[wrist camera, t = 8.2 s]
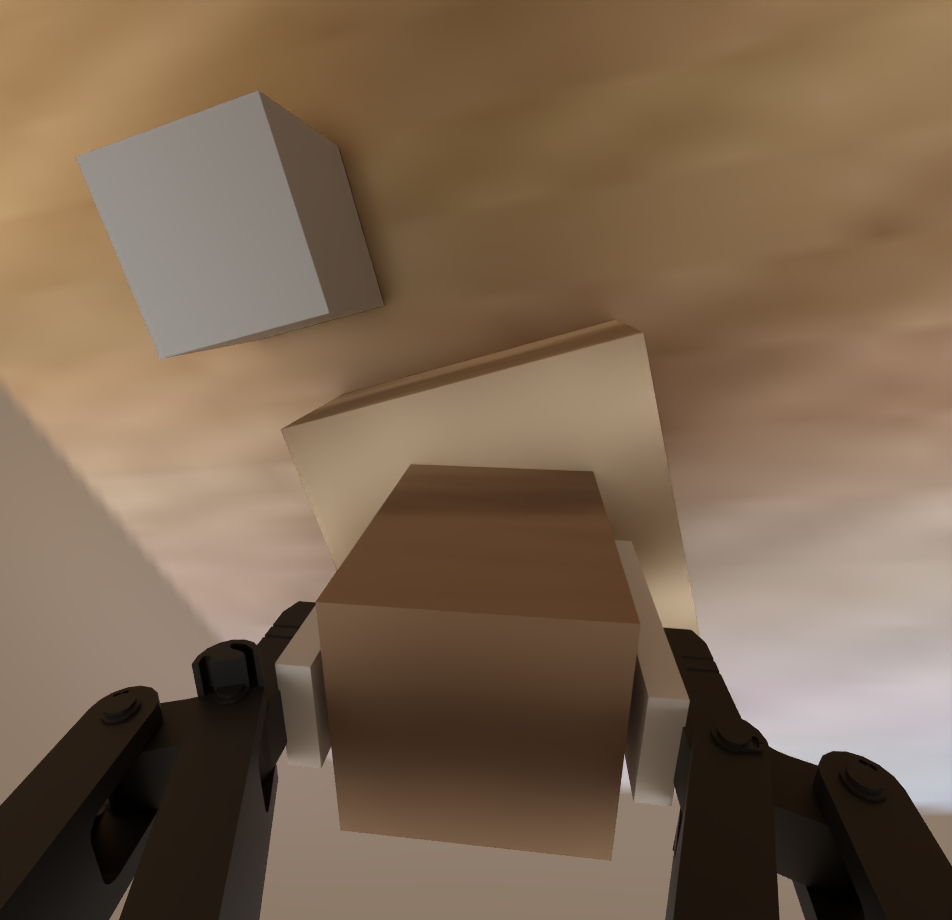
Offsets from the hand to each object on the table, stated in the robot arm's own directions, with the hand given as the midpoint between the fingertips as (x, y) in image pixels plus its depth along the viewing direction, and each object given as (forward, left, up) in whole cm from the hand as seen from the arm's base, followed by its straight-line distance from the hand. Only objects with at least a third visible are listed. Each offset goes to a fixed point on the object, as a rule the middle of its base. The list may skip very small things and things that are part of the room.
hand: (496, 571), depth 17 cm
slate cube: (-10, -9, -7) cm, 15 cm away
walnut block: (0, 0, -1) cm, 1 cm away
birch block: (0, 0, -7) cm, 7 cm away
